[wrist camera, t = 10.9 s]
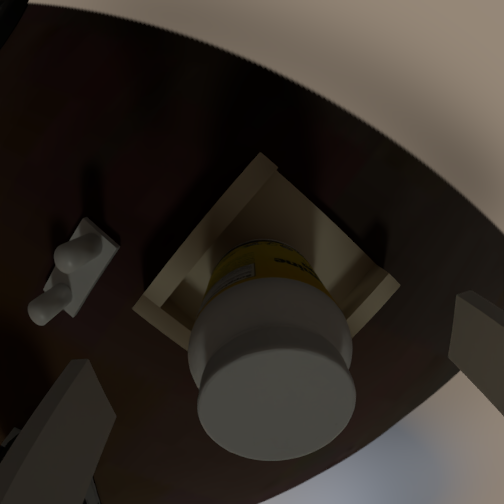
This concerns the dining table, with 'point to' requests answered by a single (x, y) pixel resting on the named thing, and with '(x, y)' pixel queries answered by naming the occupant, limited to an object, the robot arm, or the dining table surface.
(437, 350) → the dining table surface
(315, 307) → the pill bottle
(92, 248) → the clip
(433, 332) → the dining table surface
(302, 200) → the square tray
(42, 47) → the dining table surface
